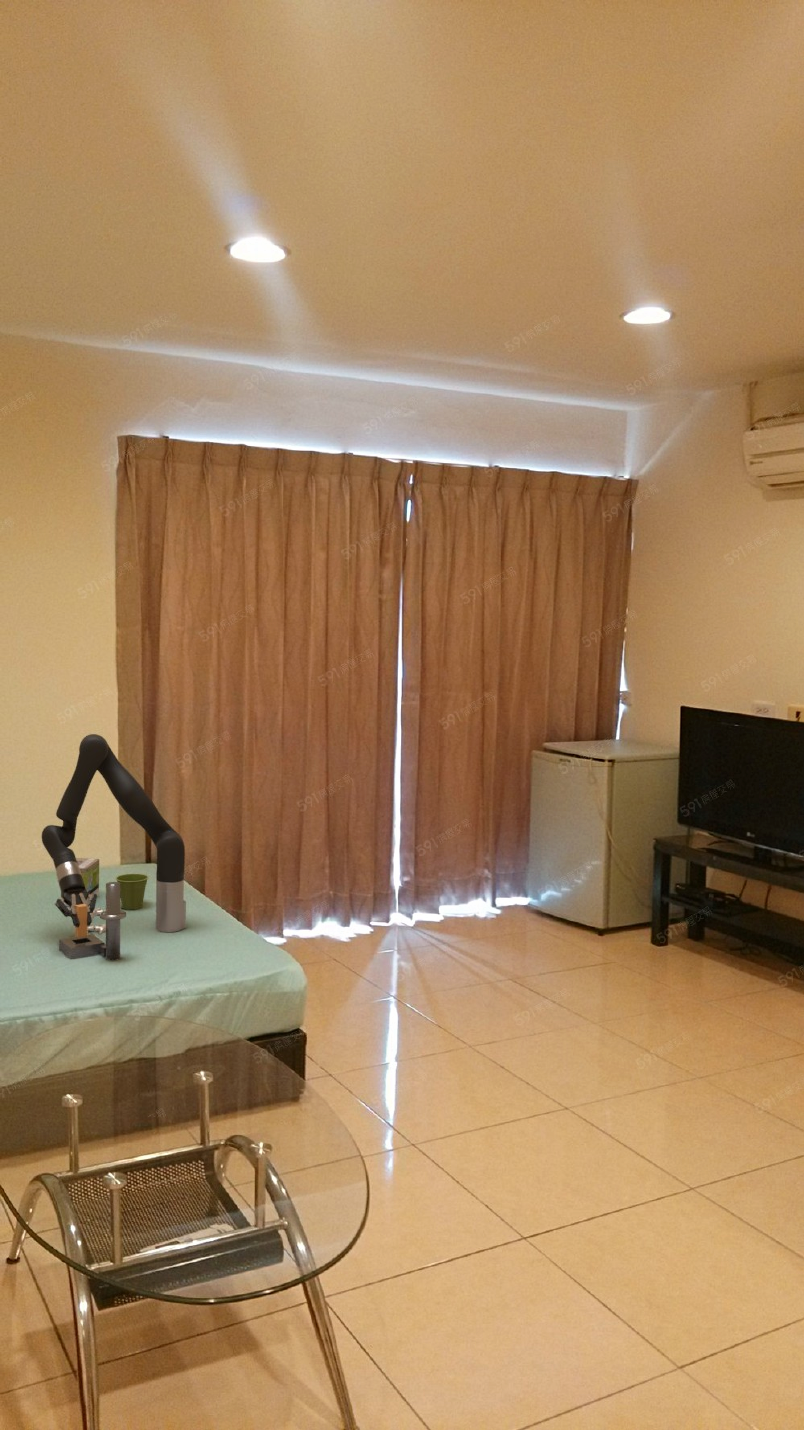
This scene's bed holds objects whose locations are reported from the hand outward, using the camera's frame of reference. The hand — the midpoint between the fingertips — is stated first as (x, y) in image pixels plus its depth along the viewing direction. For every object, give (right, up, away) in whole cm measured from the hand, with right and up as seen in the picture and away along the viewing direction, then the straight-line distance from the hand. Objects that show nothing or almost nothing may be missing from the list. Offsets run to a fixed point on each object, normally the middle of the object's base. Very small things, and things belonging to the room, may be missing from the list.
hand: (83, 925), depth 351 cm
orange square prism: (-1, -4, +2) cm, 5 cm away
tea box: (-18, -2, +58) cm, 61 cm away
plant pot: (+3, -4, +52) cm, 53 cm away
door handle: (-4, -6, +33) cm, 34 cm away
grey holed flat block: (+3, -9, 0) cm, 10 cm away
